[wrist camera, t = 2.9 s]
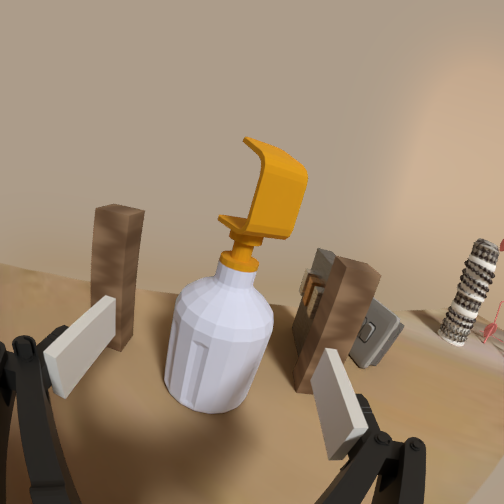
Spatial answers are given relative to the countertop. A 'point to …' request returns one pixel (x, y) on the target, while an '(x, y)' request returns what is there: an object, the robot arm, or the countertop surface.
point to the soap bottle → (233, 297)
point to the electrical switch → (375, 335)
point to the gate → (322, 329)
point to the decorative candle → (470, 293)
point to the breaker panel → (311, 295)
